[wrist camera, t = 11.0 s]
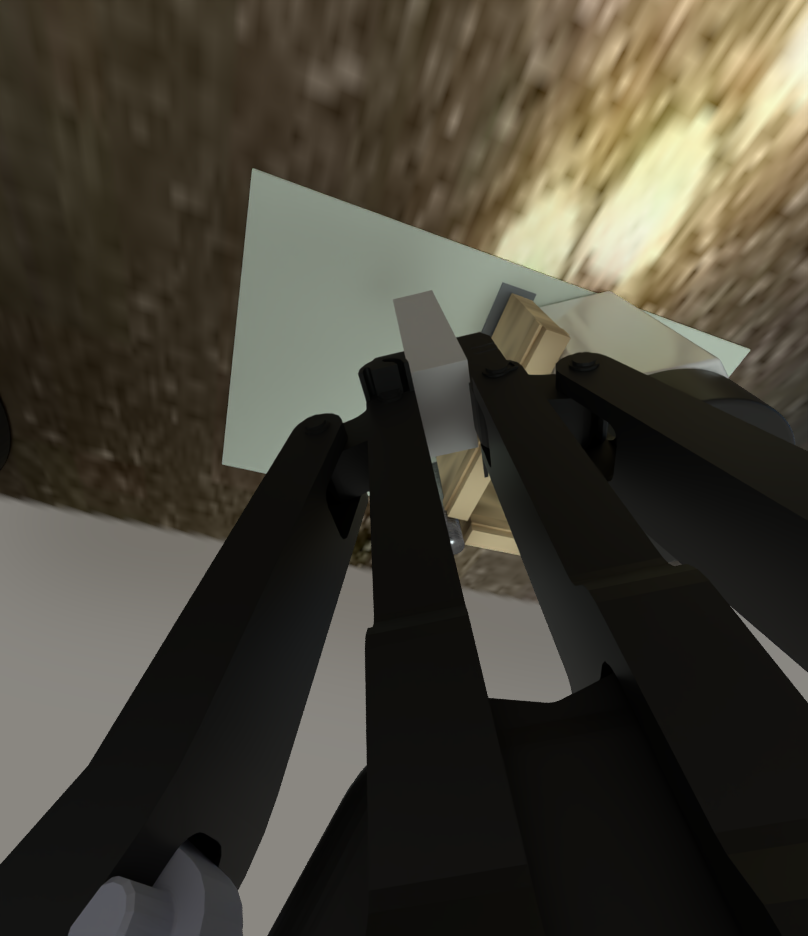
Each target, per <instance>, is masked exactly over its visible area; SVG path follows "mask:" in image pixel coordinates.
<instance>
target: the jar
mask: <svg viewBox="0 0 808 936" xmlns="http://www.w3.org/2000/svg"><path fill="white" fill-rule="evenodd" d="M539 308H540V309H541V310H542V311H543V312H544V313H545V314H546V315H548V316H549V317H550V318H551V319H552V320H553V321H554V322H555V323H556V324H557V325H558V326H559V327H560V328H562V329H564V330H565V331H566V332H567V333H568V334H569V335H570V336H569V337H570V338H571V339H570V341H569V342H568V344H567V346H566V348H565V349H564V351H563V353H562V355H561V356H560V358H559V360H560V359H562V358H564V357H566V356H568V355H572V354H575V353H578V352H581V353H583V352H590V353H599V354H602V355H606V356H608V357H610V358H612V359H615V360H617V361H619V362H621V363H623V364H625V365H627V366H629V367H631V368H633V369H636V370H638V371H640V372H642V373H644V374H646V375H648V376H650V377H652V378H655V379H657V380H659V381H661V382H663V383H665V384H667V385H669V386H671V387H673V388H676V389H678V390H680V391H682V392H684V393H686V394H688V395H690V396H692V397H695V398H697V399H699V400H701V401H703V402H705V403H707V404H709V405H711V406H713V407H716V408H718V409H720V410H722V411H724V412H726V413H728V414H730V415H732V416H735V417H737V418H739V419H741V420H743V421H745V422H747V423H749V424H751V425H753V426H756V427H758V428H760V429H762V430H764V431H766V432H768V433H770V434H772V435H775V436H777V437H779V438H781V439H783V440H785V441H787V442H789V443H791V444H793V445H795V438H794V434H793V431H792V429H791V427H790V425H789V424H788V422H787V421H786V419H785V418H784V417H783V416H782V415H781V414H780V413H779V412H778V411H776V410H775V409H774V408H772V407H771V406H769V405H768V404H766V403H765V402H763V401H762V400H760V399H759V398H757V397H756V396H754V395H753V394H751V393H750V392H748V391H747V390H745V389H744V388H742V387H741V386H739V385H738V384H736V383H734V382H733V381H731V380H730V379H729V377H728V375H727V373H726V370H725V368H724V366H723V364H722V362H721V360H720V359H719V358H718V357H716V356H714V355H713V354H711V353H710V352H708V351H706V350H705V349H703V348H701V347H700V346H698V345H697V344H695V343H693V342H692V341H690V340H689V339H687V338H685V337H684V336H682V335H681V334H679V333H677V332H676V331H674V330H673V329H671V328H669V327H668V326H666V325H665V324H663V323H661V322H660V321H658V320H657V319H655V318H653V317H652V316H650V315H649V314H647V313H645V312H644V311H642V310H641V309H639V308H637V307H636V306H634V305H633V304H631V303H629V302H628V301H626V300H624V299H623V298H621V297H620V296H618V295H616V294H615V293H613V292H611V291H607V292H603V293H598V294H594V295H590V296H585V297H581V298H577V299H572V300H568V301H564V302H560V303H555V304H551V305H547V306H542V307H539ZM559 360H558V361H559ZM551 374H556V365H555V367H554V369H553V371H552V372H551ZM607 432H608V433H609V434H611V435H612V436H614V437H616V434H615V431H614V429H613V428H612V426H611V425H610V424H609V423H608V431H607ZM645 534H646V533H645ZM646 535H647V534H646ZM647 536H648V538H649V539H650V541H651V542H652V543H653V545H654V546H655V547H656V549H657V550H658V551H659V553H660V554H661V556H662V557H663V558H664V559H665V560H666V561H667V562H673V561H677V560H676V559H675V558H674V557H673V556H672V555H671V554H669V553H668V552H667V551H666V550H665V549H664V548H662V547H661V546H660V545H659V544H658V543H657V542H655V541H654V540H653V539H652V538H651V537H650V536H649V535H647Z"/></svg>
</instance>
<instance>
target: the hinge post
mask: <svg viewBox="0 0 808 936" xmlns="http://www.w3.org/2000/svg"><path fill="white" fill-rule="evenodd" d="M432 466H433V470H434V474H435V479H436V483H437V487H438V491H439V495H440V500H441V504H442V508H443V512H444V517H445V521H446V525H447V529H448V534H449V538H450V542H451V546H452V551H453V555H454V554H457V553H459V552H461V551H462V550H463V549H464V540H463V535H462V531H461V527H460V522H459V519H457V518H453V517H448V515H447V510H444V506H443V499H444V495H443V489H442V484H441V479H440V474H439V469H438V464H437V462H433V463H432Z"/></svg>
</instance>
